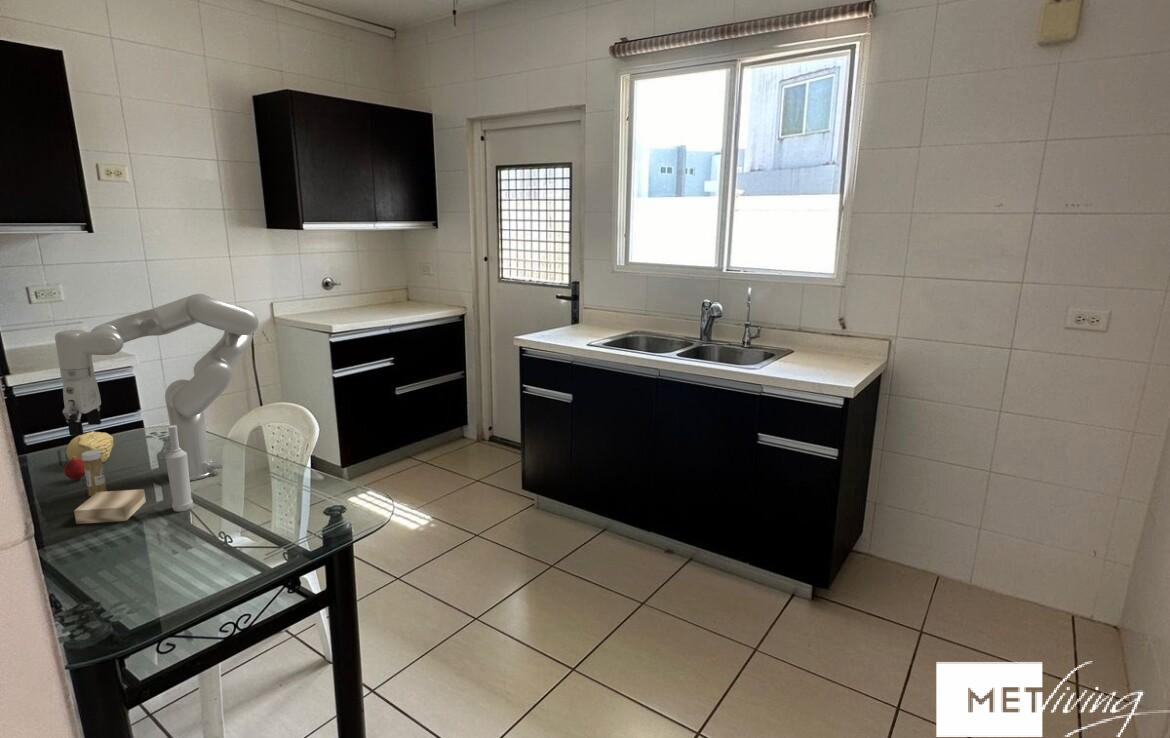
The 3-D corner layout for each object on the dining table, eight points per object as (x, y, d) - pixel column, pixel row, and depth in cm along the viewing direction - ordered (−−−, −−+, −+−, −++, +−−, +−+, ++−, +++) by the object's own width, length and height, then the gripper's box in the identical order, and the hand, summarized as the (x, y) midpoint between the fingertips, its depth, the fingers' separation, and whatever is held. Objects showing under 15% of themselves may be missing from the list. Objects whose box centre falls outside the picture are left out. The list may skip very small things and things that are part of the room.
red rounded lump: (79, 484, 193) (75, 460, 191) (61, 483, 193) (56, 459, 192) (94, 476, 199) (90, 453, 197) (76, 476, 199) (72, 452, 197)
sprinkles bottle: (106, 495, 187) (100, 453, 184) (87, 498, 184) (80, 456, 181) (107, 489, 190) (101, 448, 187) (89, 492, 188) (82, 451, 185)
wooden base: (145, 501, 183) (144, 489, 182) (126, 520, 172) (124, 507, 171) (99, 504, 181) (97, 491, 180) (76, 524, 169) (74, 510, 168)
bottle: (197, 506, 182) (187, 425, 176) (180, 513, 177) (169, 430, 171) (186, 502, 184) (175, 422, 178) (168, 509, 179) (157, 427, 173)
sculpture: (96, 470, 204) (91, 439, 202) (60, 468, 204) (54, 438, 202) (122, 457, 215) (117, 427, 213) (88, 456, 215) (83, 426, 213)
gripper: (75, 380, 171) (84, 438, 175) (107, 366, 187) (115, 420, 191) (44, 380, 169) (53, 440, 173) (79, 366, 186) (87, 420, 190)
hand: (86, 429), depth 182 cm, fingers open, 9 cm apart
